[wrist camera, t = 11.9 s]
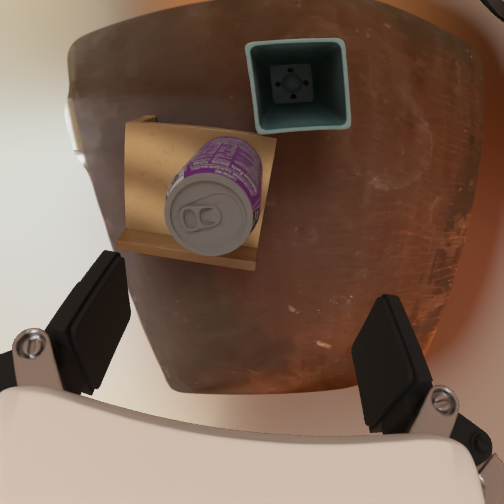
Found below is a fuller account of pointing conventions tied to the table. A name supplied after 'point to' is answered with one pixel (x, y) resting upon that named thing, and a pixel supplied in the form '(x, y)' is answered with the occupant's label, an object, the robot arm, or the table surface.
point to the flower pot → (299, 85)
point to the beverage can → (215, 197)
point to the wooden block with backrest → (160, 176)
